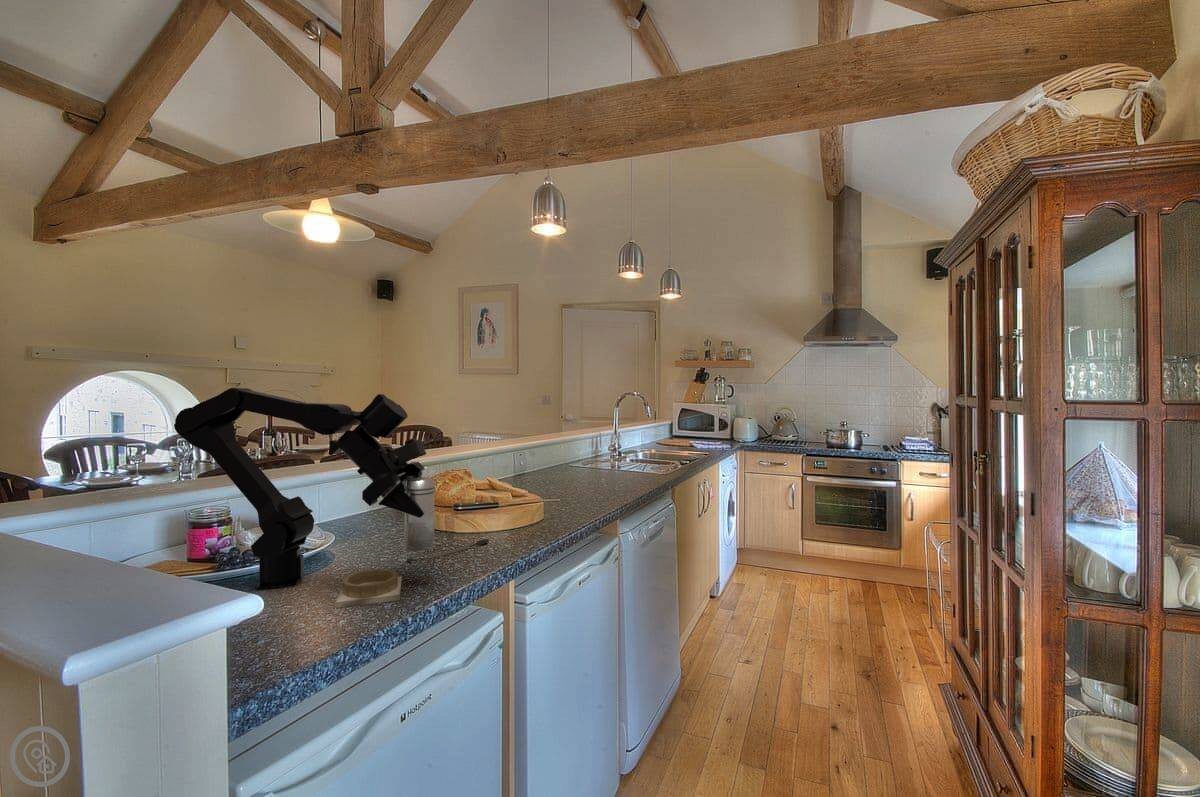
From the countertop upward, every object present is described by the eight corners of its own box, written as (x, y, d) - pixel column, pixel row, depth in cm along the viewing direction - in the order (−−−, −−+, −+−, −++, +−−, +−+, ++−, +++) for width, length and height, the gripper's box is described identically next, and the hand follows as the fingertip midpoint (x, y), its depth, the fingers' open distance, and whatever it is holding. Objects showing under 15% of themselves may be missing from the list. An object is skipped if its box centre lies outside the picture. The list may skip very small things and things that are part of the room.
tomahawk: (420, 574, 109) (420, 568, 109) (404, 564, 113) (404, 559, 113) (501, 549, 124) (502, 545, 124) (484, 542, 129) (485, 537, 129)
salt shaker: (404, 552, 98) (404, 482, 98) (404, 544, 103) (405, 477, 103) (434, 549, 99) (435, 480, 99) (433, 542, 104) (434, 476, 104)
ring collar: (335, 608, 88) (335, 590, 88) (344, 587, 98) (344, 571, 98) (399, 600, 92) (399, 583, 92) (401, 581, 101) (401, 565, 101)
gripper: (380, 428, 91) (444, 491, 92) (414, 423, 110) (467, 475, 111) (334, 473, 91) (398, 536, 92) (376, 460, 110) (429, 513, 110)
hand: (426, 512), depth 101 cm, fingers closed on salt shaker, 5 cm apart
